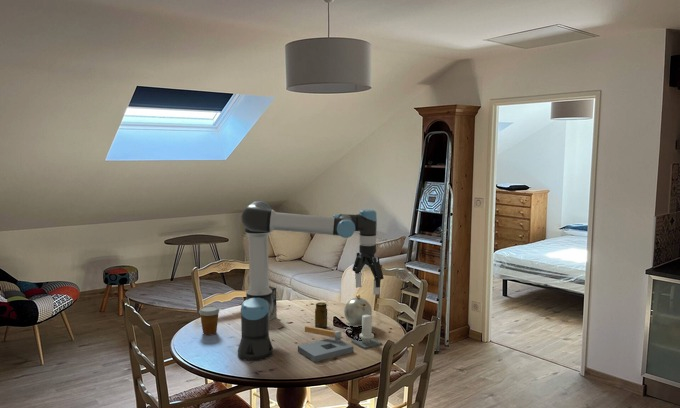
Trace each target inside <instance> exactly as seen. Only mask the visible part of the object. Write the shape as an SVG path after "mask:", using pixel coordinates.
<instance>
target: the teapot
mask: <svg viewBox="0 0 680 408" xmlns="http://www.w3.org/2000/svg"><path fill="white" fill-rule="evenodd" d="M343 310H344V317H345V319H346V321H347V322H348V326H349V327H350V326H353V327H358V326H362V315H371V316H373V315H372V314H373V310H372V306H371V304H370V303H369V302H368V300H366V299H365V298H363V297H361V295H360V294H357V295H355V297H354V298H353V297H352V298H351V299H350V300H348V302H347V303H346V304H345V306H344V309H343Z"/></svg>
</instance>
